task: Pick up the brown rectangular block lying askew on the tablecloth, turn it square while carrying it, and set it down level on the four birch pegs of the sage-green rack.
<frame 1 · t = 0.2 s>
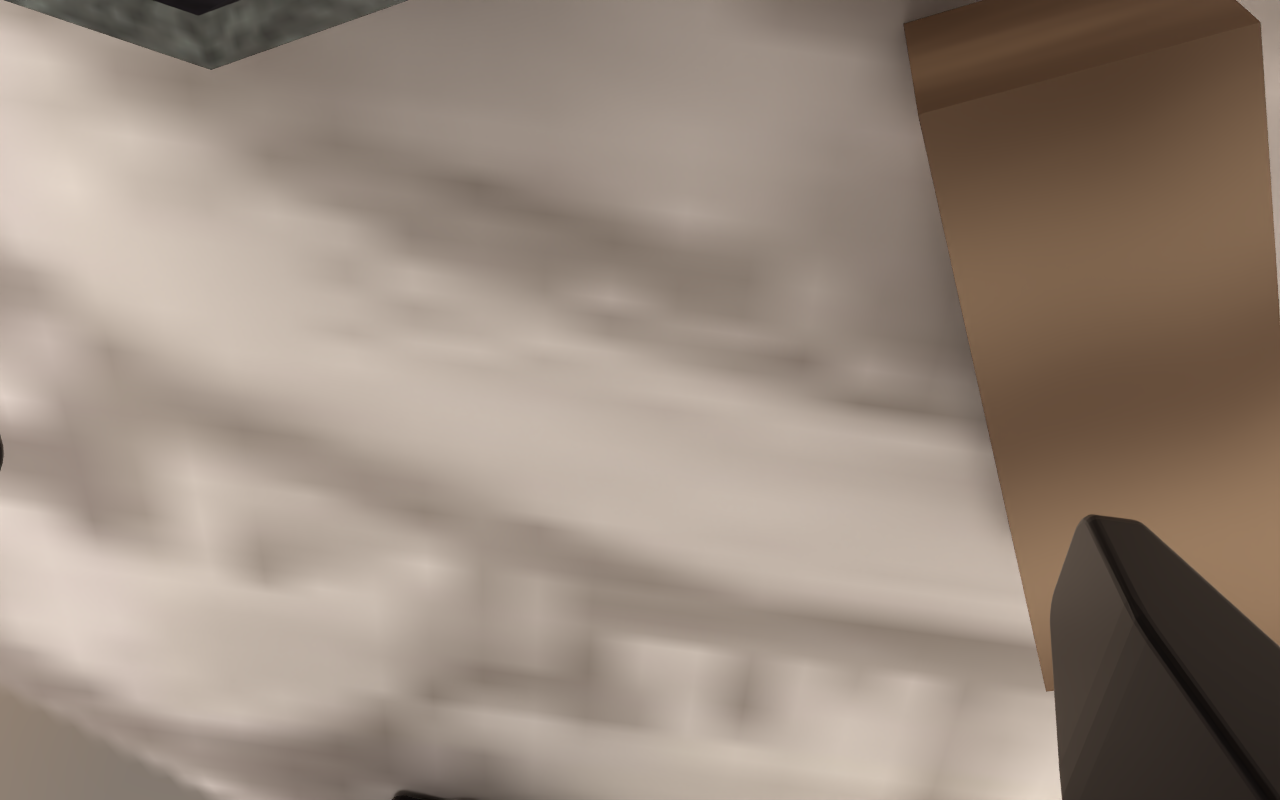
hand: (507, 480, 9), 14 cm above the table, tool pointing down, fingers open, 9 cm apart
brown rectangular block: (1080, 280, 23), on the table
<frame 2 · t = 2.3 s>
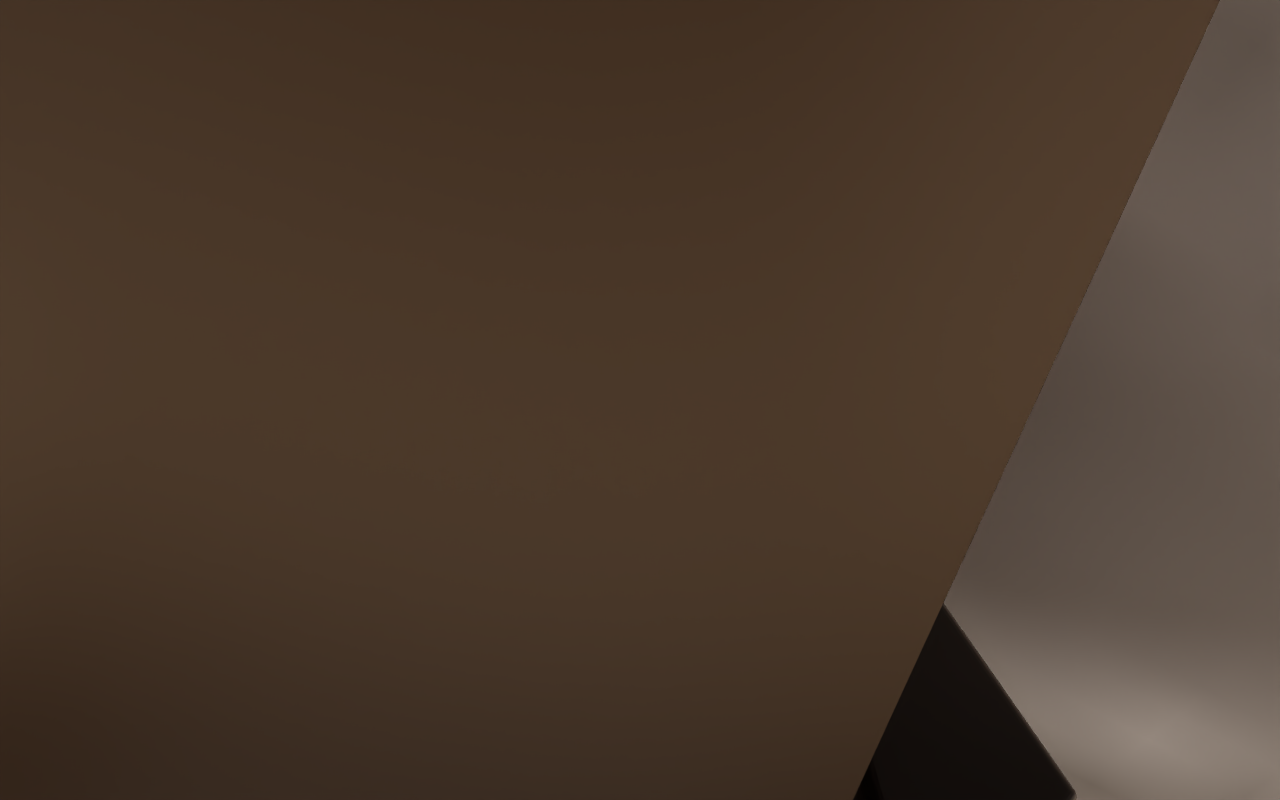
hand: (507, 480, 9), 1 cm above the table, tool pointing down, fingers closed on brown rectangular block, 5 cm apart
brown rectangular block: (538, 407, 10), on the table, touching gripper
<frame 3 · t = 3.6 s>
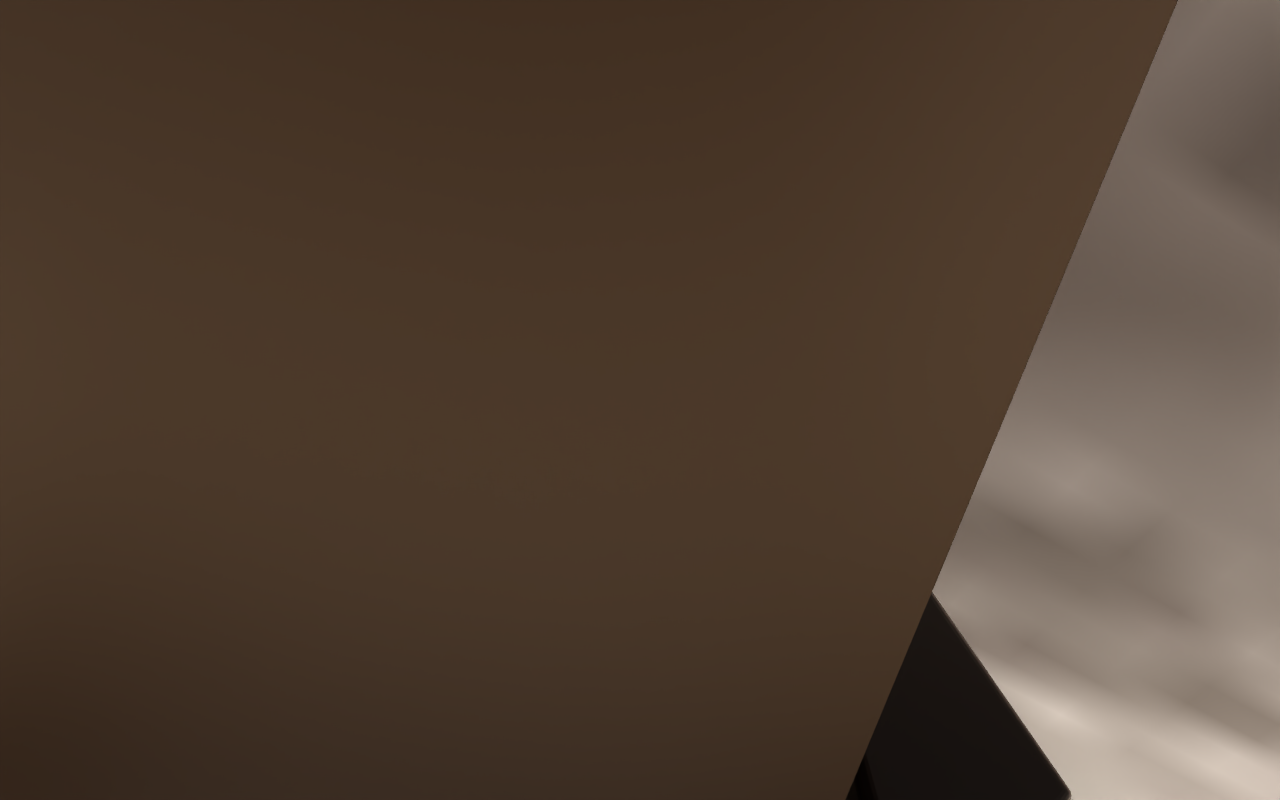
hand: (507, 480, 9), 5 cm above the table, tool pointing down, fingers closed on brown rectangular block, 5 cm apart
brown rectangular block: (536, 410, 10), point 4 cm above the table, touching gripper
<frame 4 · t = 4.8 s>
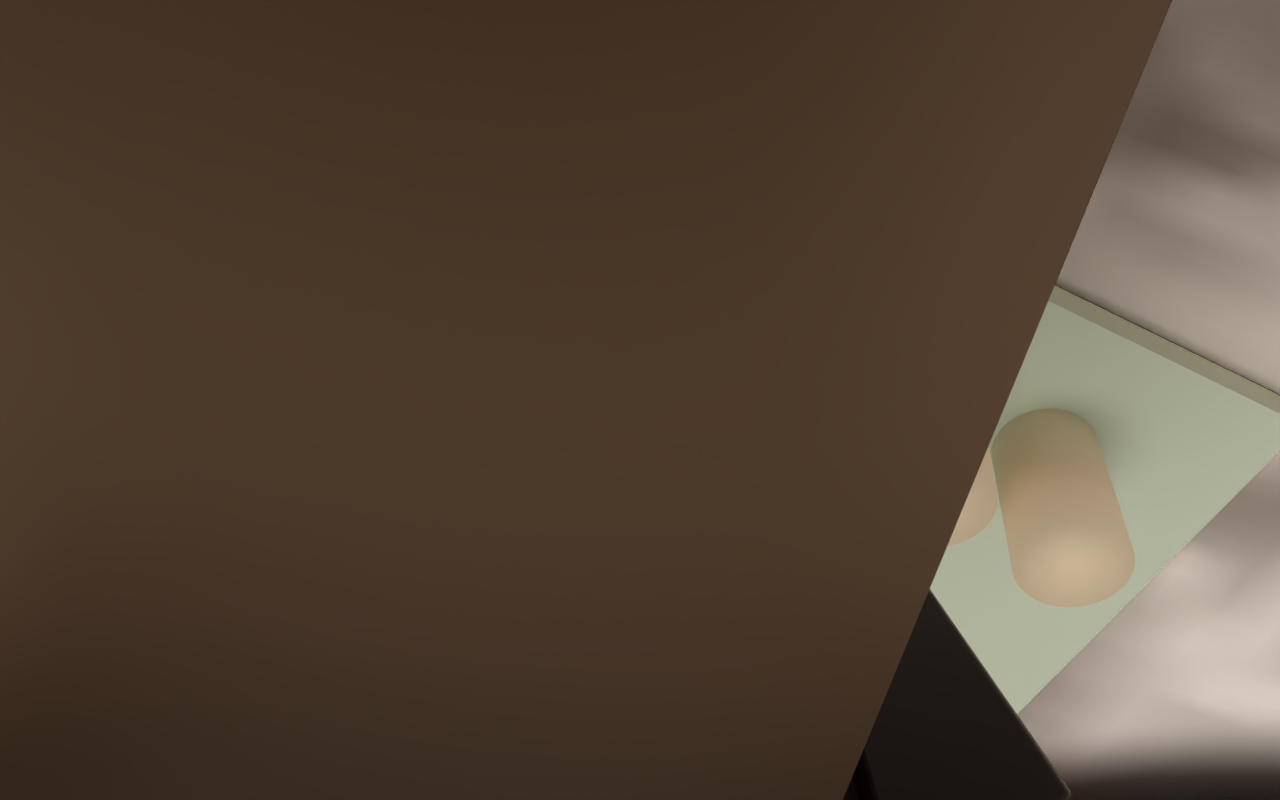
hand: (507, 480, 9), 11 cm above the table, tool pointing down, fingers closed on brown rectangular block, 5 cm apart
rack: (854, 562, 23), on the table
brown rectangular block: (535, 408, 10), point 10 cm above the table, touching gripper
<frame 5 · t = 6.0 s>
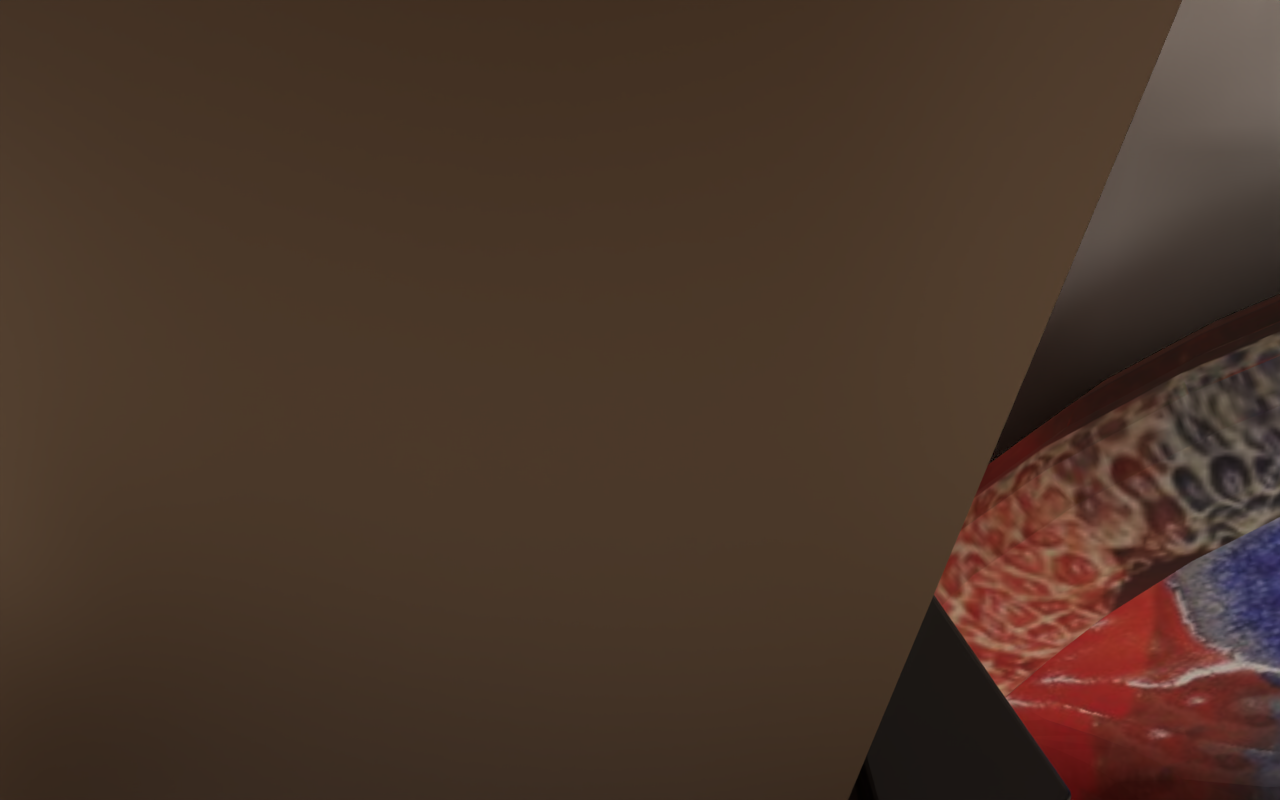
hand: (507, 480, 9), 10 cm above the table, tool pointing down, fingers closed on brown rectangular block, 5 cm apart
brown rectangular block: (536, 410, 10), point 9 cm above the table, touching gripper
when the fingers open (6 cm above the table, at t = 7.1 s): brown rectangular block drops 1 cm, resting on rack.
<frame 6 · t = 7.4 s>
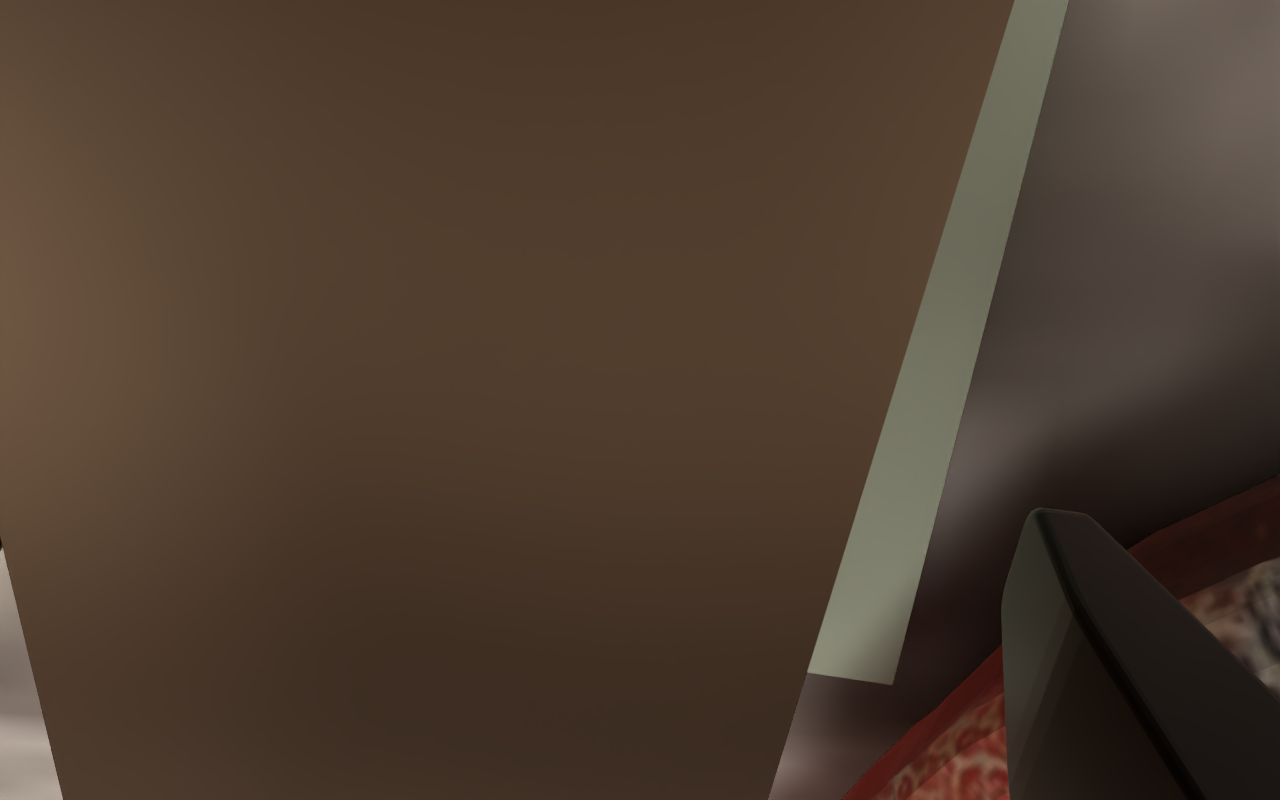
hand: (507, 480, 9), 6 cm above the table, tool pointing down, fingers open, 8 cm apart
rack: (626, 191, 14), on the table
brown rectangular block: (558, 344, 11), point 4 cm above the table, touching rack
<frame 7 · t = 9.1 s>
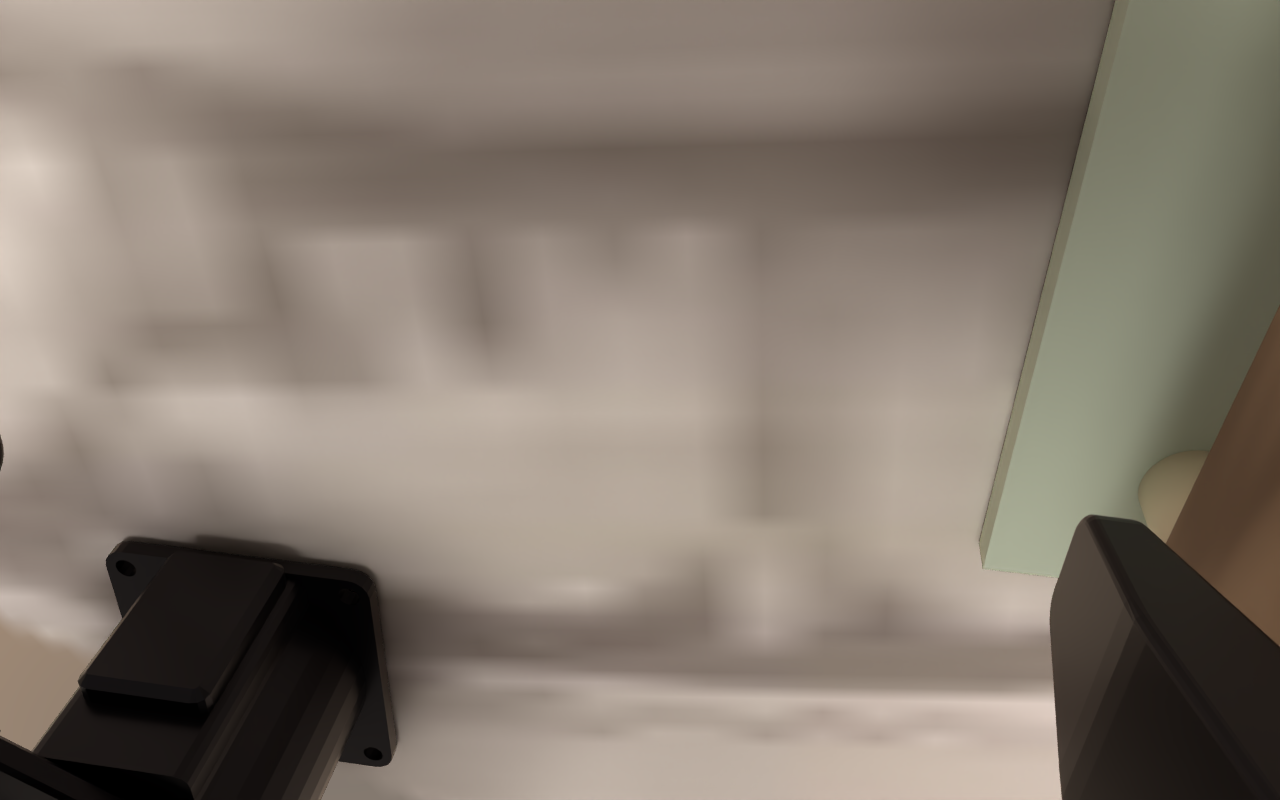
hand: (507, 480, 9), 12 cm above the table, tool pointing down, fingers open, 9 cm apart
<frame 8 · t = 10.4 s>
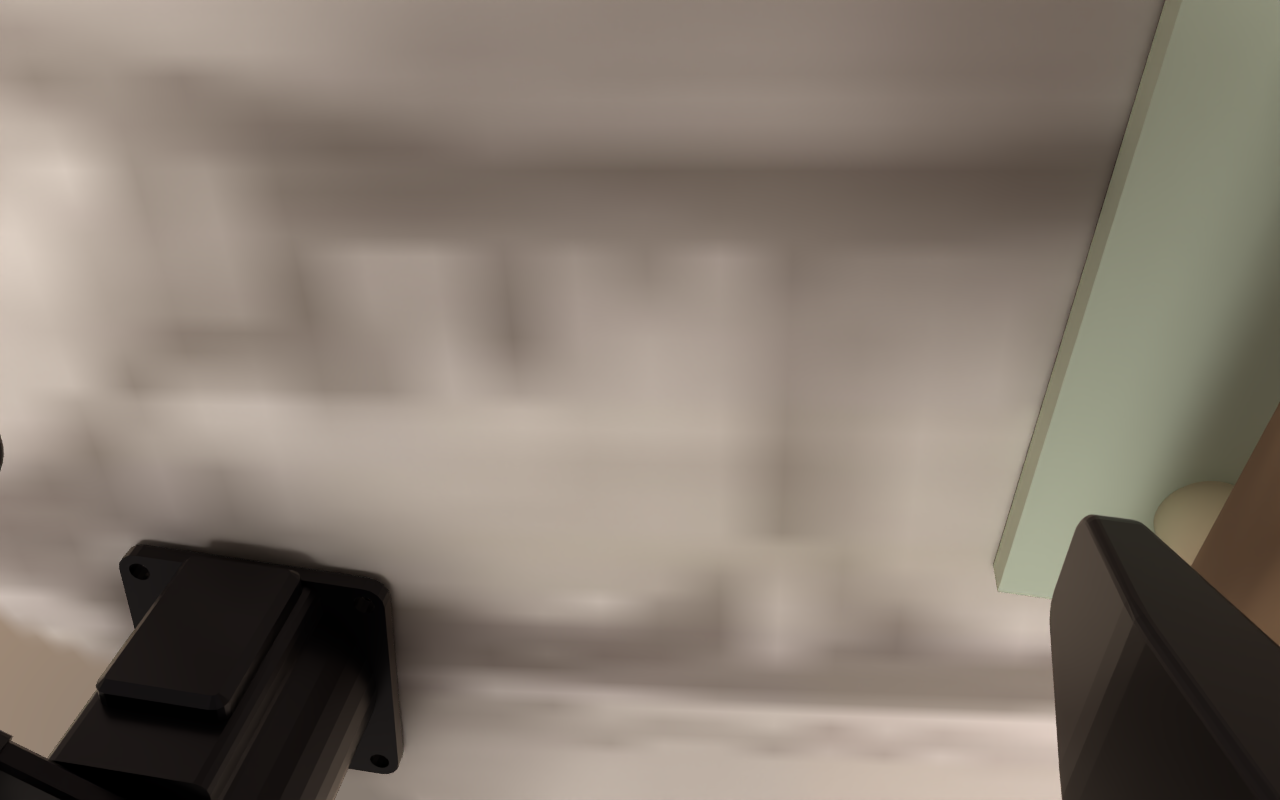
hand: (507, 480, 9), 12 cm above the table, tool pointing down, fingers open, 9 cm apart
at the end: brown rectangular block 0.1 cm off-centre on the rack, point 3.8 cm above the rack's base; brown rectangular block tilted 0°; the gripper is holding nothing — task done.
